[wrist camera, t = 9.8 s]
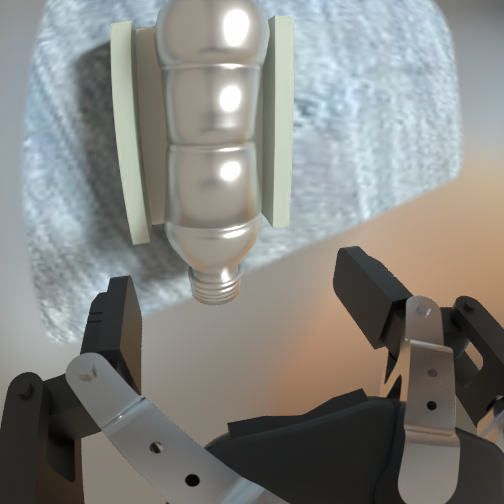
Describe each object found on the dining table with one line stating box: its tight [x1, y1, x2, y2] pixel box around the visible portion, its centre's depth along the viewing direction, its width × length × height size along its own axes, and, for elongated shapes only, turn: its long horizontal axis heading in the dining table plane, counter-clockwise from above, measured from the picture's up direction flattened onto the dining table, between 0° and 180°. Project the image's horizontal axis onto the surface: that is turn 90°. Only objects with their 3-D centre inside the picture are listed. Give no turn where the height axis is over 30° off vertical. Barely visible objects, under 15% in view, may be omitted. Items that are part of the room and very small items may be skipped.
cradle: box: [111, 15, 294, 245], centre depth 19 cm, size 14×11×4 cm
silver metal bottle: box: [153, 0, 270, 305], centre depth 18 cm, size 6×7×20 cm
